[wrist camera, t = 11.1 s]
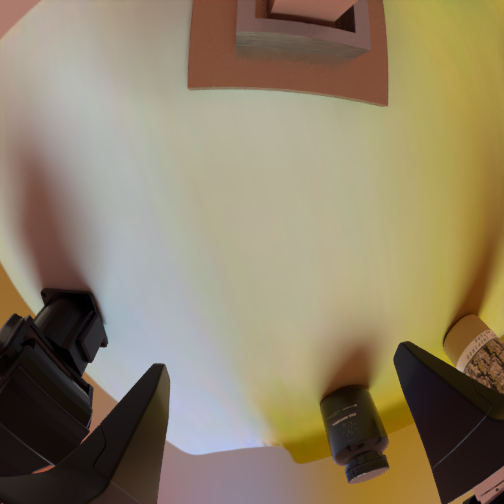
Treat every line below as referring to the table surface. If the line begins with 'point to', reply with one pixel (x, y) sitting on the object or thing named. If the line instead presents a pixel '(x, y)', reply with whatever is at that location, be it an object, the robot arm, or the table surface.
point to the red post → (308, 10)
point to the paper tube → (476, 352)
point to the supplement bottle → (355, 433)
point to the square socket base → (289, 51)
